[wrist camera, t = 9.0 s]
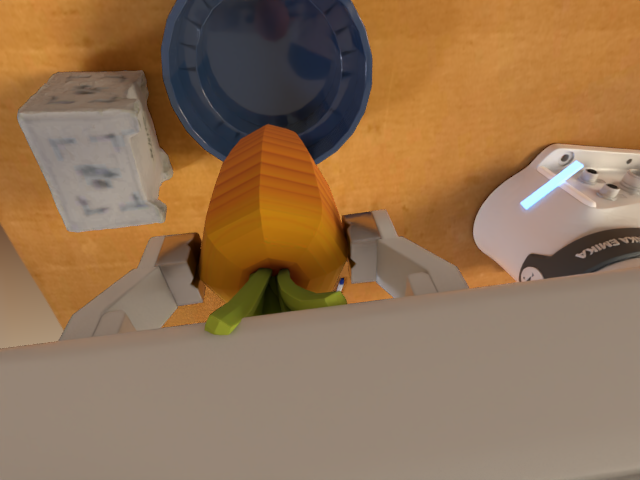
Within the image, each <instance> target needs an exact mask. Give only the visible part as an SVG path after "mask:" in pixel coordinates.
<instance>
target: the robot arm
mask: <svg viewBox="0 0 640 480" xmlns="http://www.w3.org/2000/svg"><path fill="white" fill-rule="evenodd" d="M562 156H564V157H562ZM342 226H343V230H344V234H345V237H346V240H347V246H348V256H347V260H346V261H347V262H348V271H349V275H350V279H351V283H362V282H372V281H376V282H377V283H378V284H379V285H380V286H381V287H382V288H383V289H384V290H386V291H387V292H388V293H389V294H390V295H391V296H392V297H393V298H391V299H384V300H376V301H368V302H360V303H353V304H345V305H337V306H329V307H322V308H314V309H306V310H298V311H290V312H283V313H275V314H267V315H259V316H251V317H244V318H242V320H241V322H240V323H239V324H238V325H237V327H236V328H235V329H234V330H233V331H232V332H231V333H230V334H229V335H214V334H212V333H209V332H207V331H205V330H204V329H205V324H206V322H205V323H197V324H189V325H181V326H173V327H166V328H161V327H162V326H163V324H164V323H165V322H166V321H167V320H168V319H169V317H170V316H171V315H172V314H173V313H174V311H175V310H176V309H177V308H178V307H177V306H182V305H189V304H195V303H202V302H203V300H204V295H205V290H206V287H205V284H204V283H203V282H202V281H201V280H200V277H199V272H198V268H199V259H200V253H201V249H200V248H201V243H202V242H201V239H200V236H199V234H198V233H186V234H176V235H167V236H157V237H152V238H150V239H149V241H148V244H147V246H146V249H145V251H144V253H143V256H142V258H141V260H140V263H139V265H138V268H137V269H132V270H131V271H130V272H128V273H127V274H126V275H125V276H123V277H122V278H121V279H119V280H118V281H117V282H115V283H114V284H113V285H111V286H110V287H109V288H107V289H106V290H105V291H103V292H102V293H101V294H100V295H98V296H97V297H96V298H94V299H93V300H92V301H90V302H89V303H88V304H86V305H85V306H84V307H82V308H81V309H80V310H78V311H77V312H76V313H74V314H73V315H72V317H71V319H70V320H69V322H68V324H67V326H66V328H65V330H64V331H63V333H62V335H61V337H60V339H59V341H56V342H49V343H41V344H33V345H25V346H18V347H10V348H2V349H0V480H640V150H632V149H620V148H607V147H595V146H582V145H569V144H552V145H550V146H548V147H547V148H545V149H544V150H543V151H542V152H541V153H540V154H539V155H538V156H537V157H536V158H535V159H534V160H533V161H532V162H531V163H530V165H529V166H527V167H526V168H525V169H523V170H522V171H520V172H518V173H517V174H515V175H514V176H512V177H510V178H509V179H507V180H506V181H505V182H503V183H502V184H501V185H500V186H499V187H497V188H496V189H495V190H494V191H493V192H492V193H491V194H490V195H489V197H488V198H487V199H486V200H485V202H484V203H483V205H482V206H481V208H480V210H479V211H478V214H477V216H476V219H475V222H474V227H473V236H474V240H475V243H476V245H477V246H478V248H479V249H480V250H481V251H482V252H483V253H485V254H486V255H488V256H489V257H490V258H492V259H493V260H494V261H495V262H497V263H498V264H499V265H500V266H501V267H502V268H503V269H504V270H505V271H506V272H507V273H509V274H510V275H511V276H512V277H513V278H514V280H515V281H516V283H508V284H500V285H493V286H485V287H477V288H469V287H468V285H467V283H466V281H465V280H464V278H463V276H462V275H461V273H460V271H459V269H458V268H457V267H456V266H454V265H453V264H451V263H449V262H447V261H445V260H444V259H442V258H440V257H438V256H437V255H435V254H433V253H431V252H429V251H428V250H426V249H424V248H422V247H420V246H419V245H417V244H415V243H413V242H412V241H410V240H408V239H406V238H404V237H403V236H401V237H398V235H397V233H396V231H395V228H394V226H393V224H392V222H391V219H390V217H389V215H388V213H387V210H385V209H382V210H375V211H371V212H364V213H356V214H348V215H342Z"/></svg>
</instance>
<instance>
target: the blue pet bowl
mask: <svg viewBox="0 0 640 480" xmlns="http://www.w3.org/2000/svg"><path fill="white" fill-rule="evenodd" d="M161 59H162V75H163V81H164V84H165V87H166V91H167V94H168V97H169V100H170V103H171V106H172V108H173V110H174V111H175V113H176V115H177V116H178V118H179V120H180V121H181V123H182V124H183V126H184V128H185V129H186V131H187V132H188V133H189V134H190V135H191V136H192V137H193V138H194V139H195V140H196V141H197V142H198V143H199V144H200V145H201V146H202V147H203V148H204V149H205V150H206V151H207V152H209V153H210V154H212V155H214V156H215V157H217V158H218V159H220V160H221V161H223V162H224V161H225V159H226V158H227V156H228V155H229V153H230V152H231V150H232V149H233V148H234V146H235V145H236V144H237V143H238V142H239V140H240V139H242V138H244V137H245V136H247V135H249V134H251V133H252V132H254V131H256V130H258V129H259V128H261V127H263V126H265V125H267V124H270V125H274V126H278V127H282V128H285V129H289V130H291V131H294V132H296V134H297V135H298V136H299V138H300V139H301V140H302V142H303V143H304V145H305V147H306V148H307V150H308V152H309V153H310V155H311V157H312V159H313V160H314V162H315V164H316V165H317V164H319V163H320V162H322V161H323V160H325V159H326V158H328V157H329V156H331V155H332V154H334V153H335V152H336V151H338V149H339V148H340V147H341V146H342V145H343V144H344V143H345V142H346V141H347V140H348V139H349V137H350V136H351V135H352V134H353V133H354V131H355V129H356V127H357V125H358V124H359V122H360V120H361V118H362V116H363V114H364V113H365V110H366V106H367V102H368V99H369V95H370V91H371V87H372V53H371V49H370V45H369V40H368V36H367V32H366V28H365V26H364V24H363V22H362V20H361V18H360V16H359V14H358V12H357V11H356V9H355V7H354V5H353V3H352V1H351V0H177V1H176V3H175V4H174V6H173V8H172V10H171V12H170V14H169V16H168V18H167V21H166V26H165V31H164V36H163V40H162V45H161Z"/></svg>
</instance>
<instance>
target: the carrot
mask: <svg viewBox="0 0 640 480" xmlns="http://www.w3.org/2000/svg"><path fill="white" fill-rule="evenodd" d="M347 256H348V246H347V240H346V237H345V234H344V230H343V226H342V223H341V220H340V216H339V213H338V210H337V207H336V204H335V202H334V199H333V196H332V193H331V190H330V188H329V186H328V184H327V182H326V180H325V179H324V177H323V175H322V174H321V172H320V170H319V169H318V167H317V165H316V164H315V162H314V160H313V159H312V157H311V155H310V153H309V152H308V150H307V148H306V147H305V145H304V143H303V142H302V140H301V139H300V138H299V136H298V135H297V134H296V132H294V131H291V130H289V129H285V128H282V127H278V126H274V125H270V124H267V125H265V126H263V127H261V128H259V129H258V130H256V131H254V132H252V133H251V134H249V135H247V136H245V137H244V138H242V139H240V140H239V142H238V143H237V144H236V145H235V146H234V148H233V149H232V150H231V152H230V153H229V155H228V156H227V158H226V159H225V161H224V162H223V164H222V167H221V170H220V173H219V176H218V178H217V181H216V184H215V187H214V191H213V194H212V198H211V201H210V205H209V208H208V212H207V215H206V220H205V227H204V233H203V240H202V246H201V253H200V259H199V268H198V272H199V277H200V280H201V281H202V282H203V283H205V284H206V285H207V286H208V287H209V288H210V289H211V290H212V291H213V292H214V293H215V294H216V295H218V296H219V297H220V298H221V299H222V300H223V301H224V302H225V303H226V304H225V305H223V306H222V307H220V308H219V309H217V310H216V311H214V312H213V313H212V314H210V316H209V318H208V320H207V322H206V324H205V329H204V330H205V331H207V332H209V333H212V334H214V335H229V334H230V333H231V332H232V331H233V330H234V329H235V328H236V327H237V325H238V324H239V323H240V322H241V320H242V318H244V317H251V316H259V315H267V314H275V313H283V312H290V311H298V310H306V309H314V308H322V307H329V306H337V305H345V304H347V302H346V299H345V297H344V296H343V294H342V293H341V291H334V292H332V290H333V288H334V286H335V284H336V282H337V279H338V277H339V275H340V273H341V271H342V269H343V267H344V264H345V262H346V260H347Z"/></svg>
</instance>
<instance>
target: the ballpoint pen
mask: <svg viewBox="0 0 640 480" xmlns="http://www.w3.org/2000/svg"><path fill="white" fill-rule="evenodd" d="M343 284H344V278H342V279H341V280H340V282H339V285H338V288H337V291H342V288H343Z"/></svg>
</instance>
